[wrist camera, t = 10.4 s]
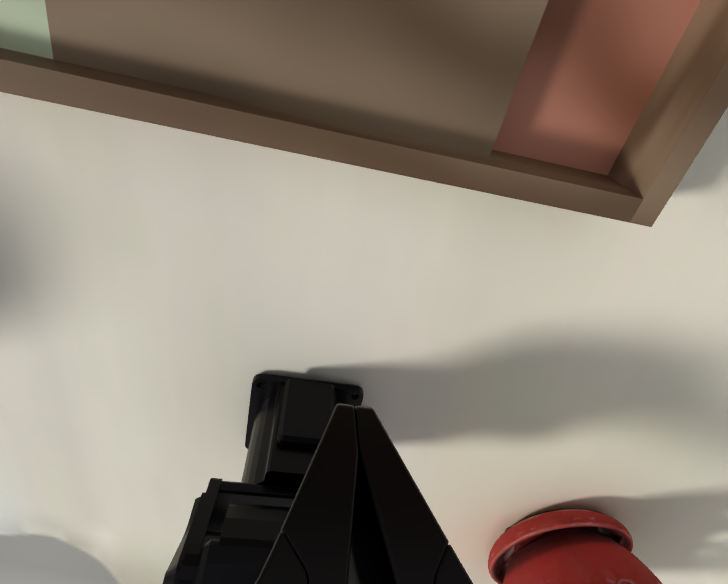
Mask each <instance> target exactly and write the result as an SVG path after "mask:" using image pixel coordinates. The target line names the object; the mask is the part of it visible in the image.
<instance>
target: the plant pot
mask: <svg viewBox="0 0 728 584" xmlns="http://www.w3.org/2000/svg"><path fill="white" fill-rule="evenodd" d="M632 548H633V541H632V538H631V535H630V533H629V532H628V530H627V529H626V528H625V527H624V526H623V525H622V524H621V523H620V522H618V521H617V520H615V519H614V518H612V517H609V516H607V515H605V514H602V513H599V512H595V511H590V510H581V509H566V510H557V511H551V512H546V513H542V514H538V515H535V516H532V517H530V518H527V519H525V520H523V521H521V522H519V523H517V524H515V525H514V526H512V527H510V528H507V529H506V530H505V532H504V533H503V534H502V535H501V536H500V537H499V538H498V540H497V541H496V542H495V544H494V546H493V547H492V549H491V552H490V555H489V559H488V569H489V573H490V575H491V577H492V578H493V579H494V581H496V582H497V583H498V584H662V583H661V581H660V580H659V579H658V578H657V577H656V576H655V575H654V574H653V573H652V572H651V571H650V570H649V569H648V568H647V567H646V566H645V565H644V564H643V563H642V562H641V561H640V560H639V559H638V558H637V557H636V556H634V555H633V554H632V553H631V551H632Z"/></svg>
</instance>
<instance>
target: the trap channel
mask: <svg viewBox="0 0 728 584" xmlns="http://www.w3.org/2000/svg"><path fill="white" fill-rule="evenodd" d="M0 92H4V93H9V94H14V95H19V96H23V97H28V98H33V99H38V100H43V101H48V102H52V103H57V104H62V105H67V106H72V107H76V108H81V109H86V110H91V111H96V112H101V113H105V114H110V115H115V116H120V117H125V118H129V119H134V120H139V121H144V122H149V123H153V124H158V125H163V126H168V127H173V128H178V129H182V130H187V131H192V132H197V133H202V134H206V135H211V136H216V137H221V138H226V139H231V140H235V141H240V142H245V143H250V144H255V145H259V146H264V147H269V148H274V149H279V150H283V151H288V152H293V153H298V154H303V155H308V156H312V157H317V158H322V159H327V160H332V161H336V162H341V163H346V164H351V165H356V166H360V167H365V168H370V169H375V170H380V171H385V172H389V173H394V174H399V175H404V176H409V177H413V178H418V179H423V180H428V181H433V182H438V183H442V184H447V185H452V186H457V187H462V188H466V189H471V190H476V191H481V192H486V193H490V194H495V195H500V196H505V197H510V198H515V199H519V200H524V201H529V202H534V203H539V204H543V205H548V206H553V207H558V208H563V209H568V210H572V211H577V212H582V213H587V214H592V215H596V216H601V217H606V218H611V219H616V220H620V221H625V222H630V223H635V224H640V225H645V226H649V227H652V225H653V224H654V222H655V220H656V219H657V217H658V216H659V214H660V213H661V211H662V209H663V208H664V206H665V205H666V203H667V201H668V200H669V198H670V197H671V195H672V194H673V192H674V190H675V189H676V187H677V186H678V184H679V182H680V181H681V179H682V178H683V176H684V175H685V173H686V171H687V170H688V168H689V167H690V165H691V164H692V162H693V160H694V159H695V157H696V156H697V154H698V152H699V151H700V149H701V148H702V146H703V145H704V143H705V141H706V140H707V138H708V137H709V135H710V134H711V132H712V130H713V129H714V127H715V126H716V124H717V122H718V121H719V119H720V118H721V116H722V115H723V113H724V111H725V110H726V108H727V107H728V0H0Z"/></svg>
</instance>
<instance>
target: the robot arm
mask: <svg viewBox="0 0 728 584" xmlns="http://www.w3.org/2000/svg"><path fill="white" fill-rule="evenodd" d="M260 382H263V383H260ZM353 394H356V395H353ZM362 399H363V390H362V388H361V387H359V386H354V385H346V384H338V383H330V382H323V381H315V380H307V379H299V378H291V377H284V376H276V375H268V374H257V375H256V376H254V378H253V382H252V389H251V398H250V407H249V415H248V424H247V433H246V441H245V447H246V448H247V449H248V453H247V458H246V463H245V468H244V472H243V477H242V482H241V483H240V482H229V481H222V479H217V478H211V479H210V482H209V485H208V488H207V491H206V493H202V495H201V497H199V498H197V499H195V503H194V506H193V509H192V513H191V516H190V519H189V523H188V526H187V529H186V532H185V534H184V536H183V539H182V541H181V543H180V545H179V547H178V549H177V551H176V553H175V555H174V557H173V559H172V561H171V563H170V565H169V567H168V570H167V572H166V574H165V577H164V581H163V584H473V583H472V581H471V579H470V578H469V576H468V574H467V573H466V571H465V569H464V568H463V566H462V564H461V563H460V561H459V559H458V557H457V555H456V554H455V552H454V550H453V548H452V547H451V545H448V540H447V538H446V536H445V534H444V533H443V531H442V529H441V527H440V526H439V524H438V522H437V520H436V519H435V517H434V515H433V513H432V512H431V510H430V508H429V506H428V505H427V503H426V501H425V499H424V497H423V496H422V494H421V492H420V490H419V489H418V487H417V485H416V483H415V482H414V480H413V478H412V476H411V475H410V473H409V471H408V469H407V468H406V466H405V464H404V462H403V461H402V459H401V457H400V455H399V453H398V452H397V450H396V448H395V446H394V445H393V443H392V441H391V439H390V438H389V436H388V434H387V432H386V431H385V429H384V427H383V425H382V424H381V422H380V420H379V418H378V416H377V415H376V413H375V411H374V410H373V409H372V408H371V407H364V406H361V403H362ZM447 545H448V546H447Z"/></svg>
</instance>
